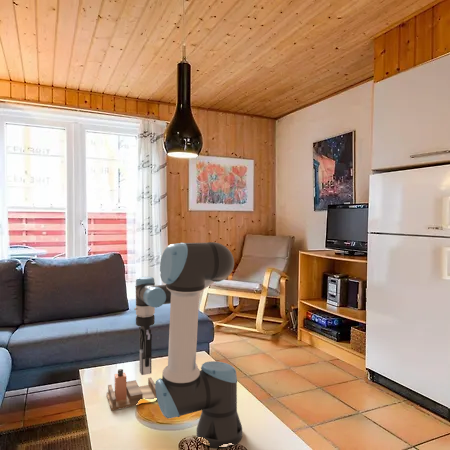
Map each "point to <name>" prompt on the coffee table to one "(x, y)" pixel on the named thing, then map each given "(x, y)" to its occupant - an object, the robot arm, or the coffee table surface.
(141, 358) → the charcoal plug
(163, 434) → the coffee table surface
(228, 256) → the robot arm
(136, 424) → the coffee table surface
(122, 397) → the terracotta plug
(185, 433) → the coffee table surface
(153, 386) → the wooden ridged block
